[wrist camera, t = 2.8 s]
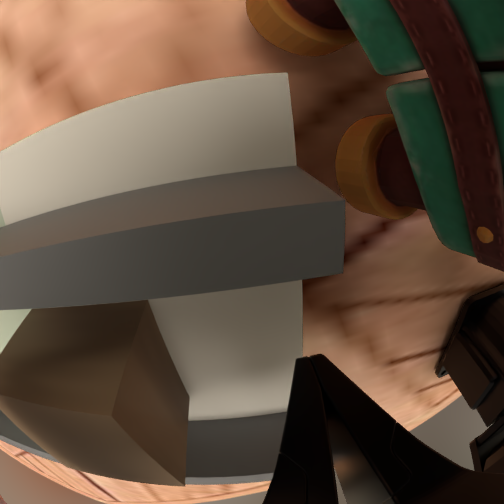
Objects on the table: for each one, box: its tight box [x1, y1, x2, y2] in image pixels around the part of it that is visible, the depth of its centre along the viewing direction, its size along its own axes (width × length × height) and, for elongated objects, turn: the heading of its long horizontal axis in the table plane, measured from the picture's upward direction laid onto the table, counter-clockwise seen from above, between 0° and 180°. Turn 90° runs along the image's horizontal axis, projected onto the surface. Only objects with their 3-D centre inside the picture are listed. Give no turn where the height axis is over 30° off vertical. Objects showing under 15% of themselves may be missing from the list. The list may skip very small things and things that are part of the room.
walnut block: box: [0, 300, 190, 486], centre depth 7 cm, size 5×5×4 cm
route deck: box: [0, 73, 345, 485], centre depth 8 cm, size 25×16×5 cm, turn 96°
